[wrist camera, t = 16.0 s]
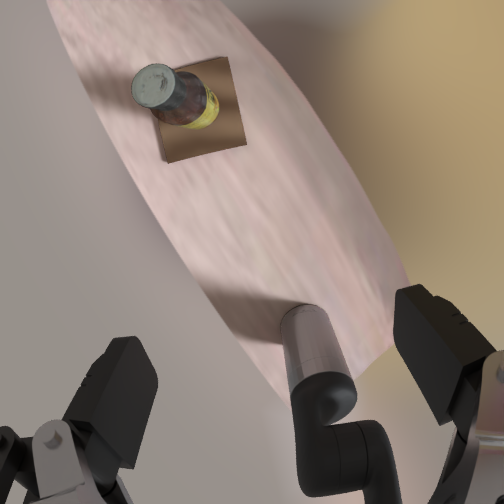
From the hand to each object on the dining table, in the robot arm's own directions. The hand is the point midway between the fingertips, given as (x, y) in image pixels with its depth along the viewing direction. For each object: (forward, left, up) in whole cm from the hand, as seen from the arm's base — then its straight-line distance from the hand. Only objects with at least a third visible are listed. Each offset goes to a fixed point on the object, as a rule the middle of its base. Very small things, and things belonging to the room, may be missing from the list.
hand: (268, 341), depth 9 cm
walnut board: (+12, +6, -38) cm, 40 cm away
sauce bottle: (+12, +6, -37) cm, 39 cm away
